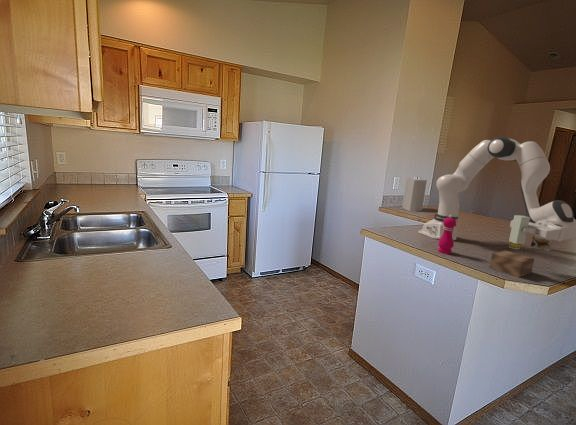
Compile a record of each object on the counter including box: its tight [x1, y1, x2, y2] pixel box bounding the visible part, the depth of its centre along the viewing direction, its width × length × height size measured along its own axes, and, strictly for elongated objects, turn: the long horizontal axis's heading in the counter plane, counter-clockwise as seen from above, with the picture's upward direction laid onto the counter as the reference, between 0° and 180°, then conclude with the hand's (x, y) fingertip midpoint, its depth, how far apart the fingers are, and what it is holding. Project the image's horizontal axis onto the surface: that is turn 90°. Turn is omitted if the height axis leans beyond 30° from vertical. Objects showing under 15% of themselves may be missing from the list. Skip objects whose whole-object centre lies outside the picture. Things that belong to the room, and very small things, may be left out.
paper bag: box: [402, 177, 428, 212], centre depth 291 cm, size 19×15×28 cm
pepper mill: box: [437, 215, 457, 255], centre depth 164 cm, size 7×7×20 cm
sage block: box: [508, 214, 530, 245], centre depth 141 cm, size 4×4×12 cm
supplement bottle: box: [508, 241, 522, 250], centre depth 183 cm, size 5×5×10 cm
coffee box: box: [530, 234, 553, 253], centre depth 185 cm, size 9×6×16 cm
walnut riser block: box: [489, 250, 535, 278], centre depth 144 cm, size 12×12×7 cm
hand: (517, 228), depth 141 cm, fingers closed on sage block, 4 cm apart
